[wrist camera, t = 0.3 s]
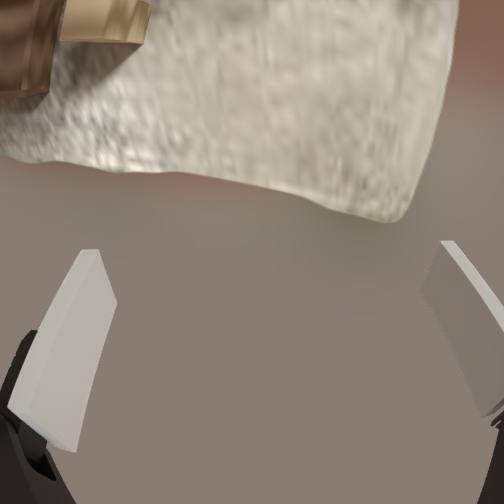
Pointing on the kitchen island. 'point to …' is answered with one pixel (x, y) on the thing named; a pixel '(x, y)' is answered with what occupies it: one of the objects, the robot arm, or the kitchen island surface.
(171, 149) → the kitchen island surface
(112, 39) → the oak peg
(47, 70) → the walnut crate
